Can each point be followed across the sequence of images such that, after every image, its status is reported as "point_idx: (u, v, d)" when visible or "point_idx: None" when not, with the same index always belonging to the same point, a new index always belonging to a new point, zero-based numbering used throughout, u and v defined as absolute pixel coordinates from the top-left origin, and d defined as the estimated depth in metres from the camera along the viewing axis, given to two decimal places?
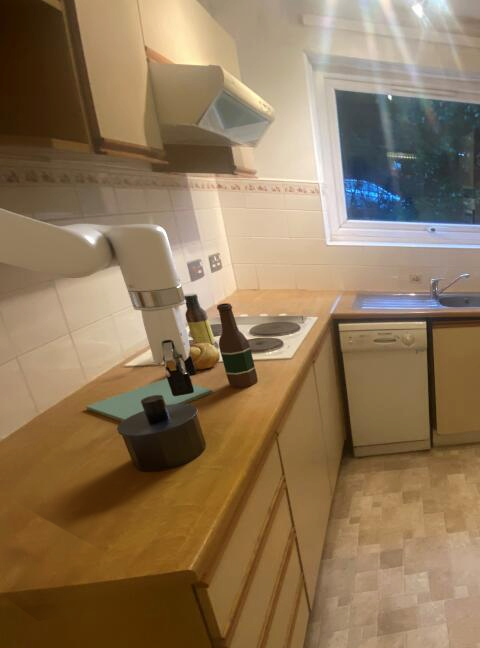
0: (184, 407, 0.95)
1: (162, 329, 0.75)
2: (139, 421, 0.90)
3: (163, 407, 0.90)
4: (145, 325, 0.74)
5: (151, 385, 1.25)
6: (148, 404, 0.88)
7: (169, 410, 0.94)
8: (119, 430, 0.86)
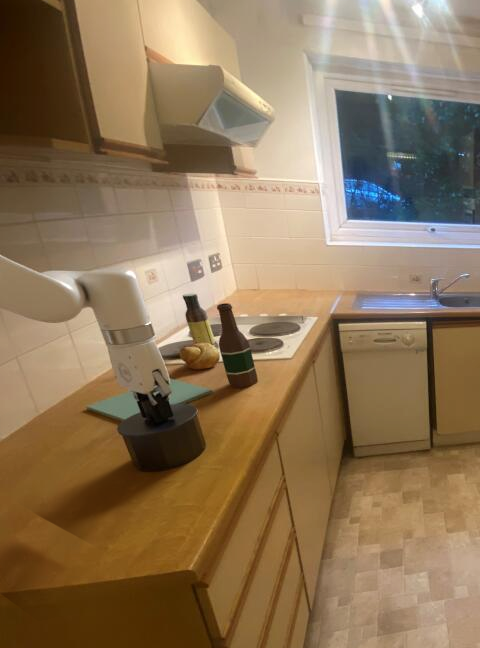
0: (184, 407, 0.95)
1: (151, 360, 0.84)
2: (139, 421, 0.90)
3: None
4: (135, 359, 0.82)
5: None
6: (148, 404, 0.88)
7: None
8: (119, 430, 0.86)
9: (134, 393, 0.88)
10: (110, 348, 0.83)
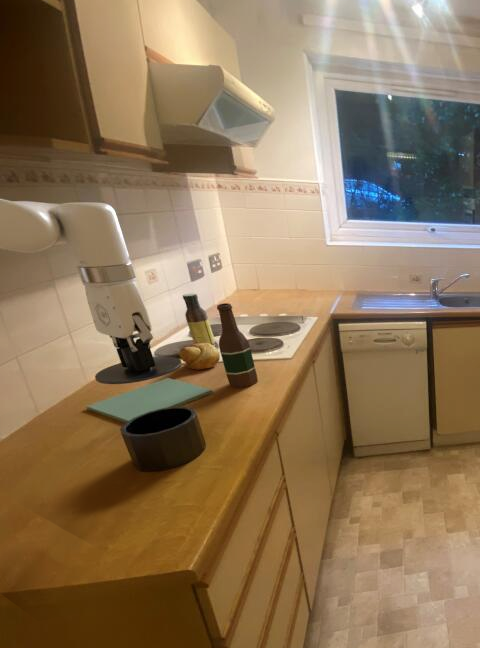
0: (167, 359, 0.91)
1: (131, 302, 0.79)
2: (119, 370, 0.85)
3: None
4: (114, 299, 0.77)
5: (151, 385, 1.25)
6: (128, 351, 0.83)
7: None
8: (97, 377, 0.82)
9: (114, 340, 0.84)
10: (87, 289, 0.79)
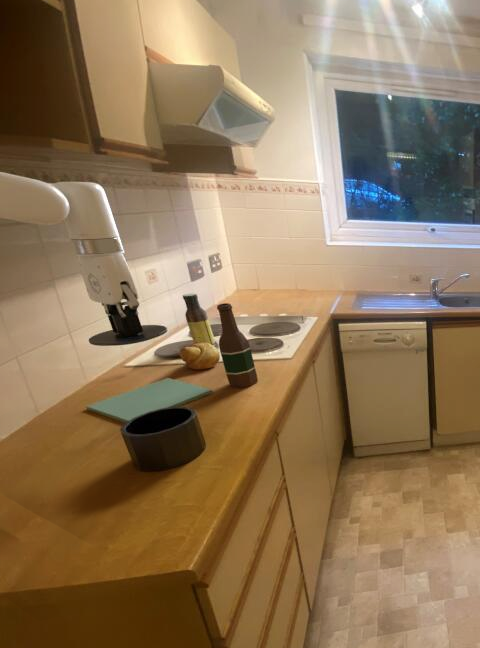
0: (155, 327, 1.00)
1: (119, 271, 0.89)
2: (110, 335, 0.95)
3: None
4: (103, 268, 0.87)
5: (151, 385, 1.25)
6: (118, 317, 0.93)
7: None
8: (90, 340, 0.91)
9: (105, 307, 0.94)
10: (81, 260, 0.88)
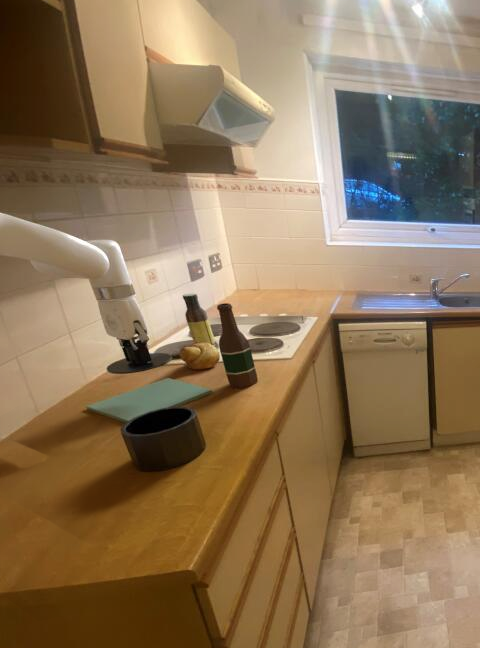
0: (161, 355, 1.18)
1: (132, 312, 1.06)
2: (124, 363, 1.13)
3: None
4: (119, 311, 1.04)
5: (151, 385, 1.25)
6: (131, 349, 1.11)
7: None
8: (108, 369, 1.09)
9: (120, 341, 1.11)
10: (100, 303, 1.06)
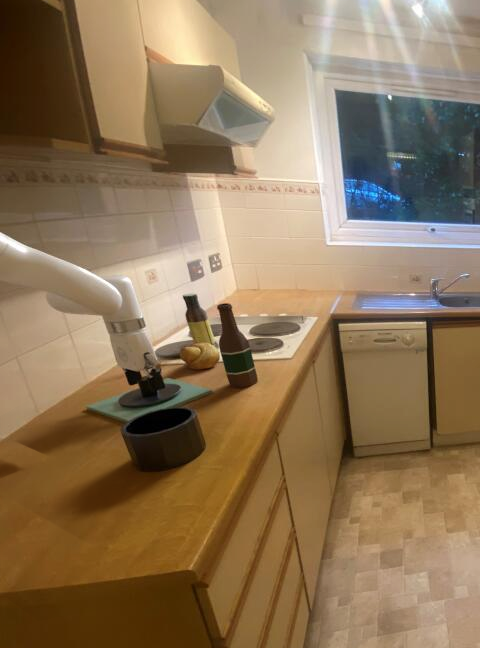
0: (170, 386, 1.22)
1: (143, 345, 1.09)
2: (135, 395, 1.16)
3: None
4: (130, 344, 1.08)
5: None
6: (142, 382, 1.14)
7: None
8: (120, 401, 1.13)
9: None
10: (111, 336, 1.09)
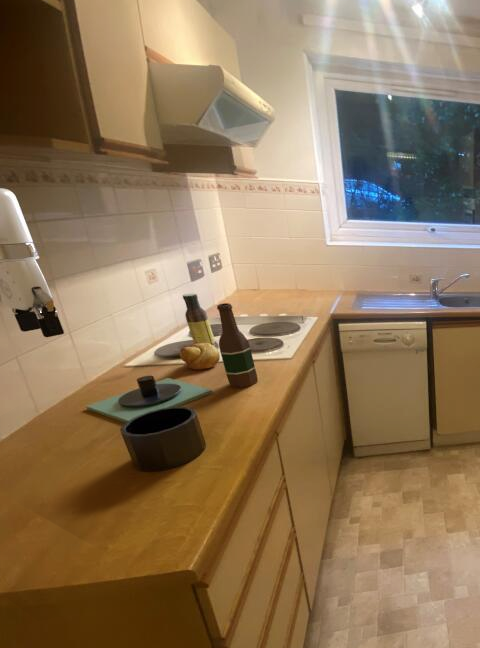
0: (170, 386, 1.22)
1: (30, 277, 0.88)
2: (135, 395, 1.16)
3: (154, 385, 1.16)
4: (13, 274, 0.86)
5: None
6: (142, 382, 1.14)
7: (159, 388, 1.20)
8: (120, 401, 1.13)
9: (13, 307, 0.94)
10: None
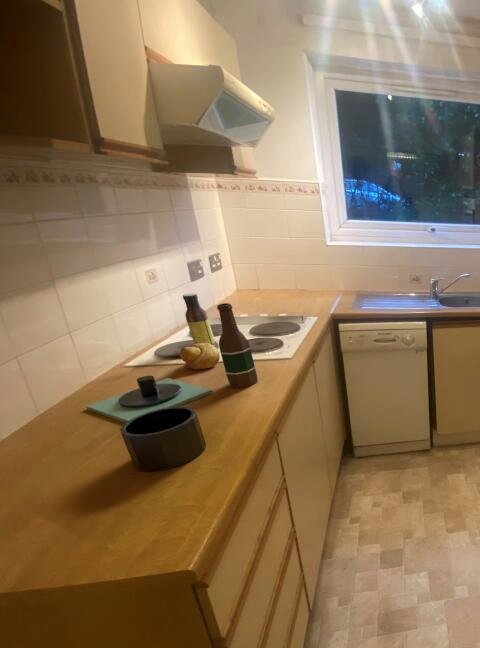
0: (170, 386, 1.22)
1: None
2: (135, 395, 1.16)
3: (154, 385, 1.16)
4: None
5: None
6: (142, 382, 1.14)
7: (159, 388, 1.20)
8: (120, 401, 1.13)
9: None
10: None
